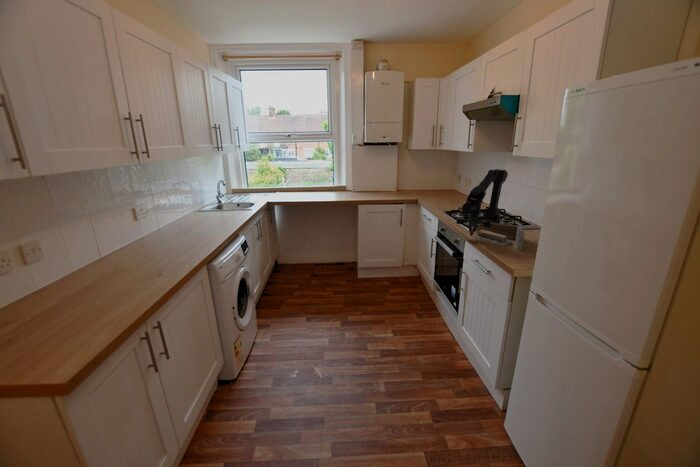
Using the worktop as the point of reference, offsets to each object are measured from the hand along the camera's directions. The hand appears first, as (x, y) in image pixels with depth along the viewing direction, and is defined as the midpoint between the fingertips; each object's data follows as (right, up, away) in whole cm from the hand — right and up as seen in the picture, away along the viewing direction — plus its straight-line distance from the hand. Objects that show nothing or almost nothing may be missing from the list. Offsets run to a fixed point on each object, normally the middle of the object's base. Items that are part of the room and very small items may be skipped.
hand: (471, 235), depth 182 cm
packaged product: (+12, -3, -1) cm, 13 cm away
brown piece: (+14, -4, -4) cm, 15 cm away
